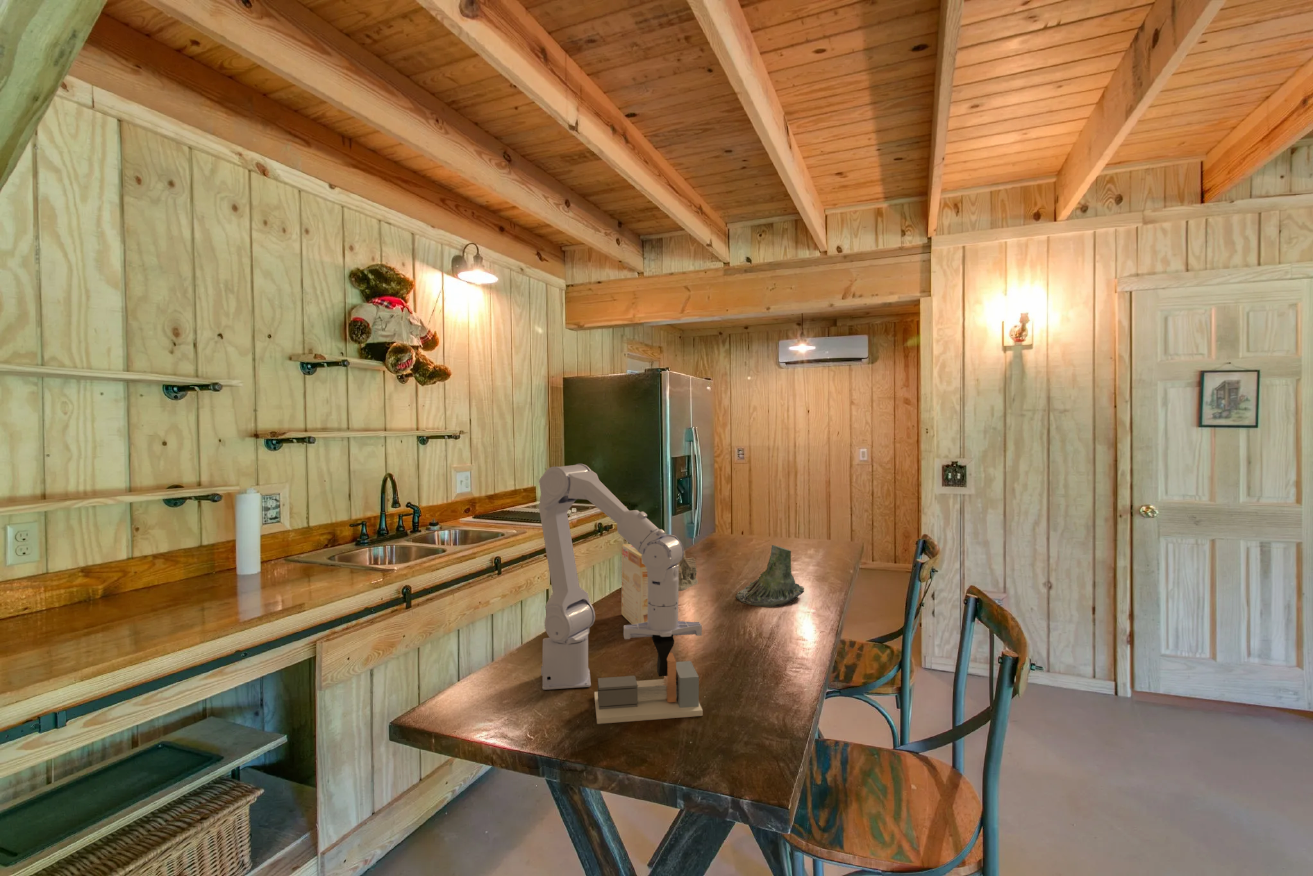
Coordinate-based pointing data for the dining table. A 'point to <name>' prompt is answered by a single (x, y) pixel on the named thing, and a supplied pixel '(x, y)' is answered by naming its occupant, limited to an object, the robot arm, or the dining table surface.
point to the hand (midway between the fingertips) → (662, 674)
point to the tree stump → (773, 582)
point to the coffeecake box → (634, 586)
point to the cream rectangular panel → (633, 703)
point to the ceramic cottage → (687, 573)
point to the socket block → (687, 684)
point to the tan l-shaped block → (660, 685)
